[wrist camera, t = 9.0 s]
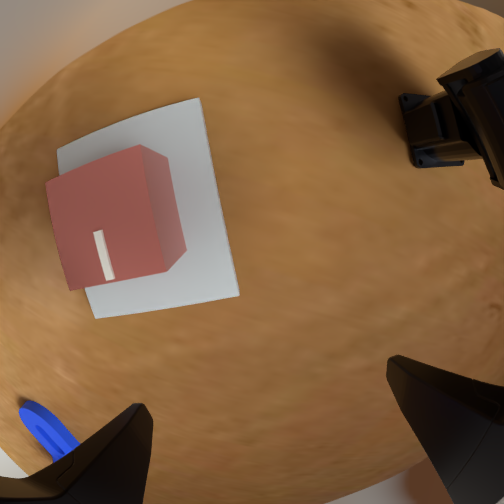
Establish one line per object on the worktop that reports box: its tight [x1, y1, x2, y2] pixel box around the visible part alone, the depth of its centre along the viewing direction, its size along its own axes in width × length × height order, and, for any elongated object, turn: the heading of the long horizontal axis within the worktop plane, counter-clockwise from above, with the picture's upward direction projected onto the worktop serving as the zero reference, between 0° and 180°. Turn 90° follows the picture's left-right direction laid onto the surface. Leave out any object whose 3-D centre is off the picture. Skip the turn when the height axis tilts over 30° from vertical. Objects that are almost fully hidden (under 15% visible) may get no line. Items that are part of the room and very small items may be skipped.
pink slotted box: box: [45, 144, 187, 291], centre depth 15 cm, size 6×6×6 cm
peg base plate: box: [57, 98, 239, 319], centre depth 16 cm, size 12×14×5 cm
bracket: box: [19, 401, 80, 463], centre depth 20 cm, size 18×8×9 cm, turn 19°
